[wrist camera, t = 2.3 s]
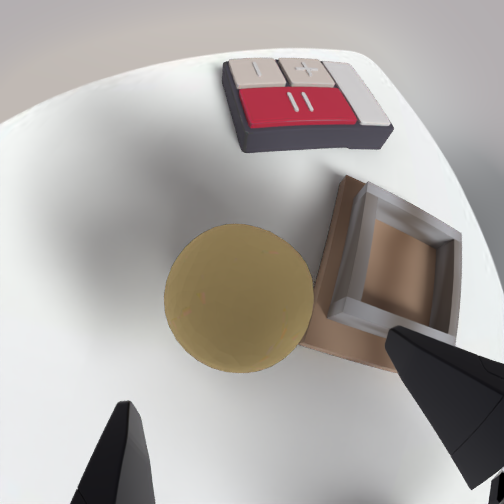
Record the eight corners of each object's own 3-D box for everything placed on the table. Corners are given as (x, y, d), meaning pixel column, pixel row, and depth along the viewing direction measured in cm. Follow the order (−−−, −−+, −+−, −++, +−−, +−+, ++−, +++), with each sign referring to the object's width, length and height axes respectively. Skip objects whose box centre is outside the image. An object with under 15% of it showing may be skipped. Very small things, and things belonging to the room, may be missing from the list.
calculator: (222, 55, 24) (352, 58, 27) (221, 86, 28) (342, 84, 31) (245, 127, 21) (399, 125, 23) (241, 160, 25) (381, 150, 27)
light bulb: (163, 340, 18) (120, 323, 9) (205, 257, 20) (206, 172, 11) (252, 382, 18) (298, 405, 9) (288, 296, 20) (356, 242, 11)
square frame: (441, 236, 25) (467, 219, 21) (424, 379, 19) (457, 378, 16) (339, 184, 24) (359, 157, 21) (297, 344, 19) (318, 340, 15)
